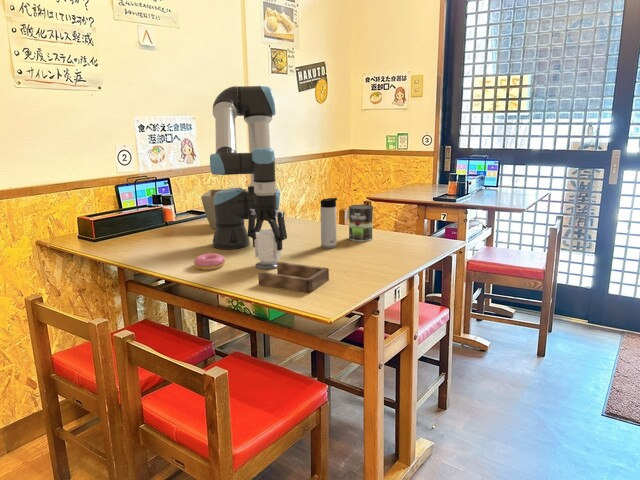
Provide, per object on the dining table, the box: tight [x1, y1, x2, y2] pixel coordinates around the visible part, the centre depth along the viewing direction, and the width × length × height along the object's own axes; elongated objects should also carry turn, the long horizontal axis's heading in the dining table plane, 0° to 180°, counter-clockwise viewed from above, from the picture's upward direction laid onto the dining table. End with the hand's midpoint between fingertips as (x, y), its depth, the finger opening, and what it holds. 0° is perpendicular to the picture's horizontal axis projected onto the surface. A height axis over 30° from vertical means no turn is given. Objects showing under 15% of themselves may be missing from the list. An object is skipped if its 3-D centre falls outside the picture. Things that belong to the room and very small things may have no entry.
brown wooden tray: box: [257, 261, 330, 294], centre depth 157 cm, size 18×13×4 cm
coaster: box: [255, 260, 279, 271], centre depth 176 cm, size 9×9×1 cm
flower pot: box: [200, 188, 248, 230], centre depth 237 cm, size 19×19×17 cm
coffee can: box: [348, 204, 374, 243], centre depth 209 cm, size 10×10×14 cm
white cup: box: [256, 229, 276, 262], centre depth 174 cm, size 8×8×10 cm
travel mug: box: [320, 197, 338, 250], centre depth 197 cm, size 6×7×20 cm
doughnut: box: [193, 252, 226, 271], centre depth 176 cm, size 11×11×4 cm
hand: (268, 257), depth 175 cm, fingers closed on white cup, 7 cm apart
